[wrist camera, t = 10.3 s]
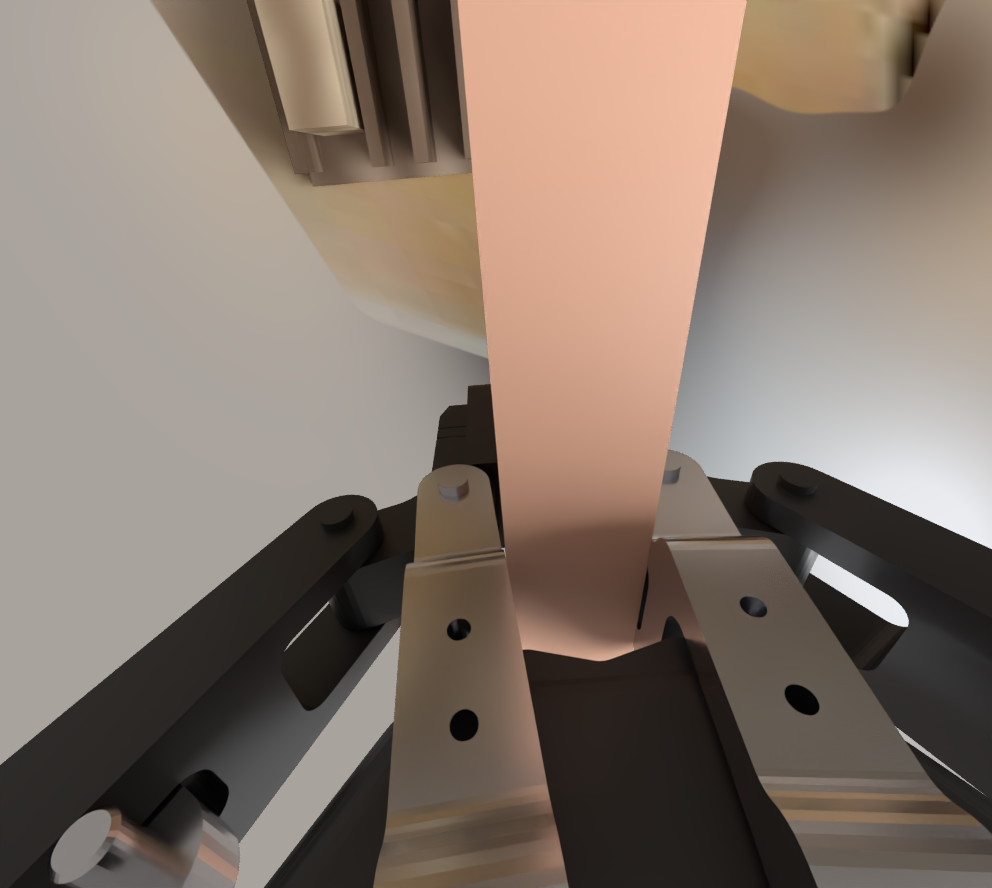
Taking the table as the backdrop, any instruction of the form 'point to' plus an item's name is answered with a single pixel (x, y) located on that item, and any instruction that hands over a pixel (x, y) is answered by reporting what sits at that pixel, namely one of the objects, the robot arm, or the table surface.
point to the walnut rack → (391, 96)
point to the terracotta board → (589, 280)
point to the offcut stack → (312, 65)
